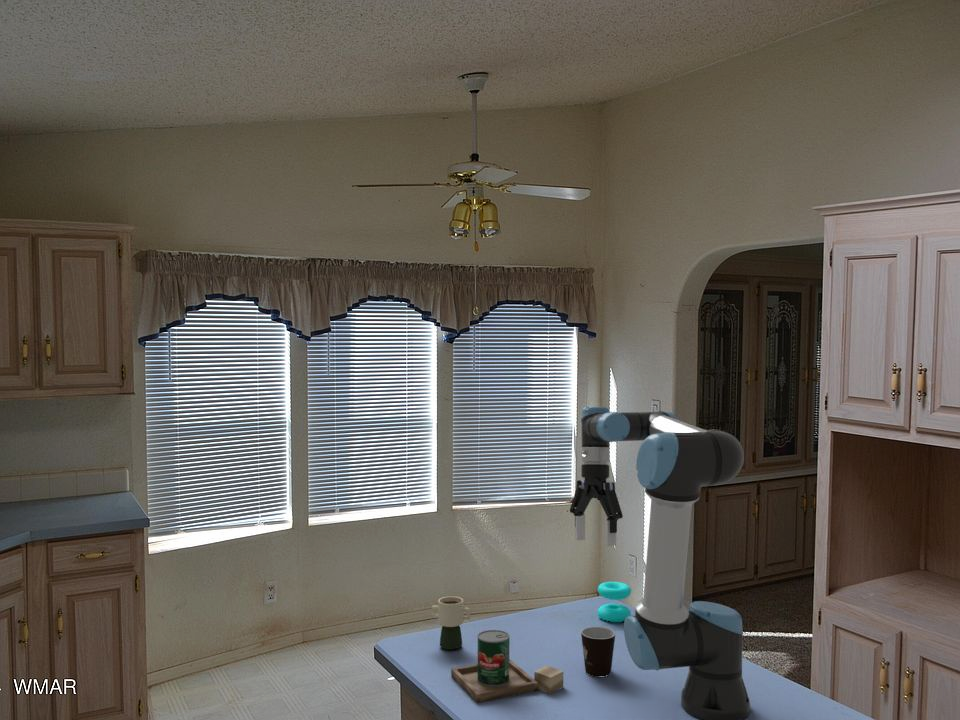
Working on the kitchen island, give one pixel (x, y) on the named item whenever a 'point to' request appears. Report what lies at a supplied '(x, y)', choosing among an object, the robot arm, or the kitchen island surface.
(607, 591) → the donuts
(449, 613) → the character mug
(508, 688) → the tray
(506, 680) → the canned tomato
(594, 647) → the coffee mug
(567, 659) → the kitchen island surface
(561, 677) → the wooden block
